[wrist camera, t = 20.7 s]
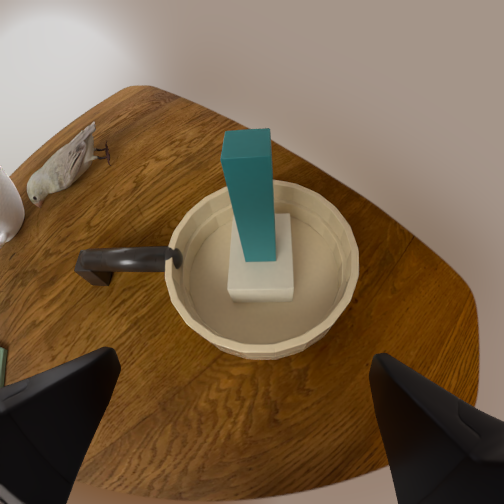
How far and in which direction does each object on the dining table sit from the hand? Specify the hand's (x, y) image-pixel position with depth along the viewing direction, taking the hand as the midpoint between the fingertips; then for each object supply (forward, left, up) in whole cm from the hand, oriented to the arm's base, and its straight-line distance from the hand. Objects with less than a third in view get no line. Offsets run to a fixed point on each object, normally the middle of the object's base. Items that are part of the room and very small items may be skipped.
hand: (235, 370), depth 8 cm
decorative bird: (+26, +30, -14) cm, 42 cm away
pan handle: (+10, +12, -14) cm, 21 cm away
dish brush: (+10, 0, -13) cm, 17 cm away
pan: (+10, 0, -14) cm, 17 cm away
